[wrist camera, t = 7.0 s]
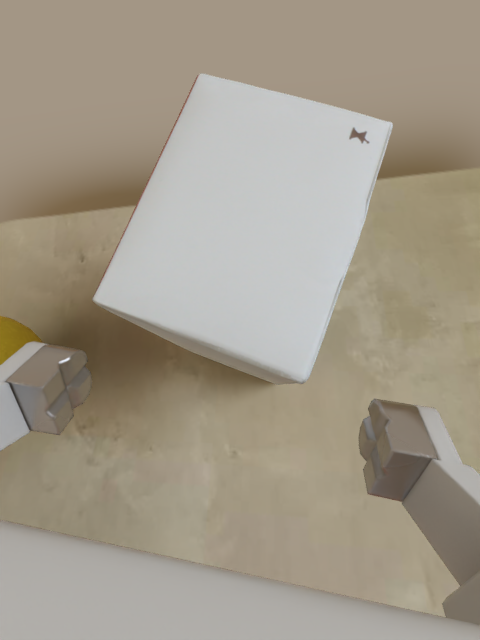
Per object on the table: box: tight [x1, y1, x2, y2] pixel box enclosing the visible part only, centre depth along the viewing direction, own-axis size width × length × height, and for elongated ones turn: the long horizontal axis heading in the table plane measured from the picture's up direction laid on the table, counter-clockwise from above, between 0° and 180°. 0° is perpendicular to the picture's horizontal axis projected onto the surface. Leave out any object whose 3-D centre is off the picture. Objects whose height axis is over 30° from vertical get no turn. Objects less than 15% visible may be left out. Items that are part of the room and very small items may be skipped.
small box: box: [92, 73, 393, 385], centre depth 15 cm, size 8×6×13 cm
